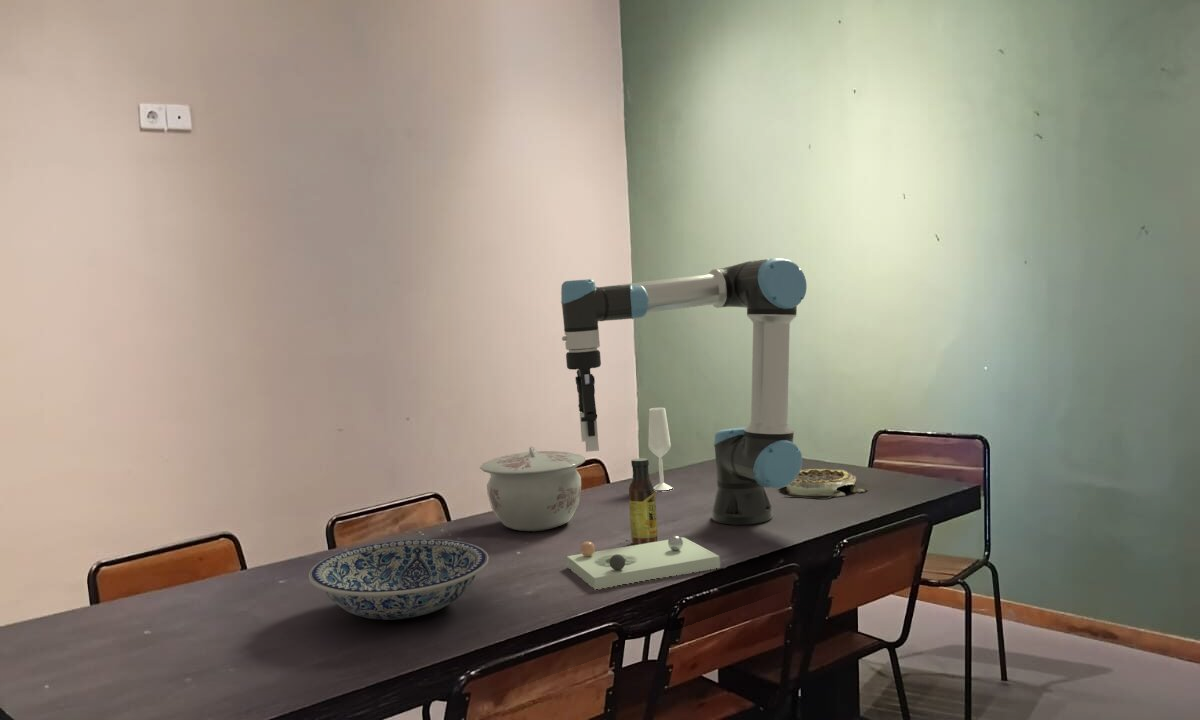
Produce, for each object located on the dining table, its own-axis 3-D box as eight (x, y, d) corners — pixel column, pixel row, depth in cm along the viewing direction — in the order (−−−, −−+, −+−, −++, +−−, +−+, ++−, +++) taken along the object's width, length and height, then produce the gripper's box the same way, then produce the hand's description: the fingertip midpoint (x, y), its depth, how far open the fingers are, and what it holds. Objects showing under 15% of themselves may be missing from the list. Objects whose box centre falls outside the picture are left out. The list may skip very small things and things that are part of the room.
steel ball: (679, 547, 209) (678, 533, 209) (685, 551, 206) (684, 536, 206) (666, 549, 208) (665, 535, 208) (672, 553, 205) (671, 538, 205)
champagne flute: (651, 487, 286) (646, 407, 284) (674, 486, 285) (669, 406, 283) (649, 491, 279) (644, 410, 277) (672, 491, 278) (667, 409, 276)
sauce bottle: (656, 546, 220) (650, 461, 219) (629, 546, 222) (624, 462, 220) (660, 539, 227) (655, 456, 225) (634, 539, 228) (629, 457, 226)
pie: (752, 496, 267) (751, 478, 266) (791, 478, 289) (791, 462, 289) (849, 504, 251) (848, 485, 250) (883, 484, 273) (882, 467, 273)
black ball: (622, 566, 198) (621, 551, 197) (627, 570, 195) (626, 555, 194) (607, 569, 196) (606, 554, 196) (613, 573, 193) (612, 557, 193)
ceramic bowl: (407, 655, 163) (402, 598, 162) (274, 628, 181) (269, 576, 181) (526, 594, 192) (523, 545, 191) (401, 576, 210) (397, 531, 209)
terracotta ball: (592, 553, 209) (591, 538, 209) (597, 556, 206) (596, 542, 206) (578, 555, 208) (577, 541, 208) (583, 559, 205) (582, 544, 205)
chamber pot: (526, 545, 229) (520, 460, 227) (464, 528, 250) (457, 450, 248) (613, 521, 247) (607, 442, 246) (547, 507, 268) (542, 434, 266)
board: (684, 547, 218) (683, 537, 217) (720, 567, 201) (719, 556, 200) (567, 567, 208) (567, 556, 208) (595, 590, 191) (594, 577, 191)
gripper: (563, 348, 221) (570, 438, 223) (568, 355, 196) (576, 456, 198) (595, 345, 222) (601, 435, 223) (604, 352, 197) (612, 453, 198)
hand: (590, 445), depth 210 cm, fingers open, 13 cm apart
